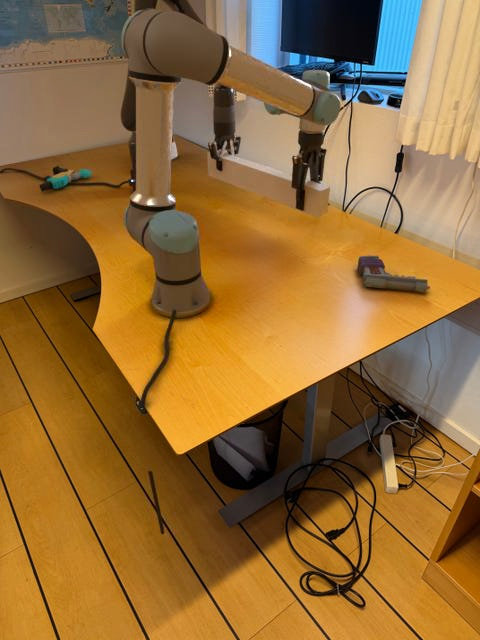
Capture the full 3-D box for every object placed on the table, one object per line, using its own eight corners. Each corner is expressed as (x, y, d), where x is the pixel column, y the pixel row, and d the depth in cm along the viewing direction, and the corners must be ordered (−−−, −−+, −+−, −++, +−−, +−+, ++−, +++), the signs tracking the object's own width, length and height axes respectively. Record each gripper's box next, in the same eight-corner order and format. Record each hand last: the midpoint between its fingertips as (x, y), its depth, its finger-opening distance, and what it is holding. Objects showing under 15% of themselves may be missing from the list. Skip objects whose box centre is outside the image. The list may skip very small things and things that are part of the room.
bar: (327, 213, 149) (330, 186, 144) (317, 217, 146) (320, 190, 141) (217, 172, 180) (216, 150, 175) (208, 175, 177) (207, 152, 172)
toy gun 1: (18, 179, 190) (45, 185, 184) (65, 161, 208) (91, 166, 203) (21, 190, 192) (48, 196, 187) (67, 171, 211) (93, 177, 205)
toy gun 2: (422, 269, 137) (428, 298, 126) (357, 263, 141) (356, 291, 129) (425, 258, 135) (432, 285, 123) (358, 252, 138) (358, 278, 126)
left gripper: (232, 113, 168) (232, 162, 178) (201, 120, 160) (203, 170, 170) (246, 117, 164) (246, 166, 174) (215, 124, 156) (217, 176, 166)
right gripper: (320, 122, 145) (313, 196, 159) (281, 133, 135) (277, 211, 149) (340, 127, 141) (331, 202, 154) (301, 138, 131) (295, 218, 144)
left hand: (225, 168), depth 172 cm, fingers closed on bar, 4 cm apart
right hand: (305, 206), depth 151 cm, fingers closed on bar, 5 cm apart
